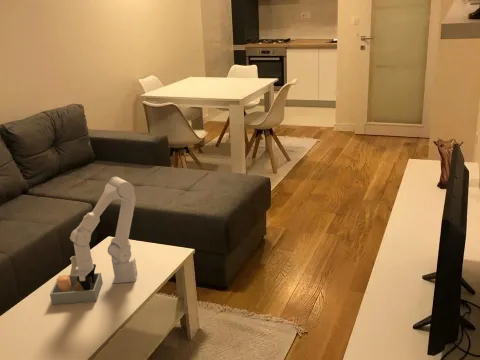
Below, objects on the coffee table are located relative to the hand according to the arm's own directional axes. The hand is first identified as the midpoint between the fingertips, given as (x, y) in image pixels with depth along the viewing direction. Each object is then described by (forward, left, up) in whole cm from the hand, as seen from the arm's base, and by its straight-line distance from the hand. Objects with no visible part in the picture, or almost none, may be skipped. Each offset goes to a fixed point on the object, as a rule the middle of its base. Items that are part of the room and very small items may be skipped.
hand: (89, 286), depth 212 cm
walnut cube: (+1, 0, 0) cm, 1 cm away
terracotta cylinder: (+10, 0, -2) cm, 10 cm away
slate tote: (+5, 0, -3) cm, 6 cm away
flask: (+8, -12, -3) cm, 15 cm away
